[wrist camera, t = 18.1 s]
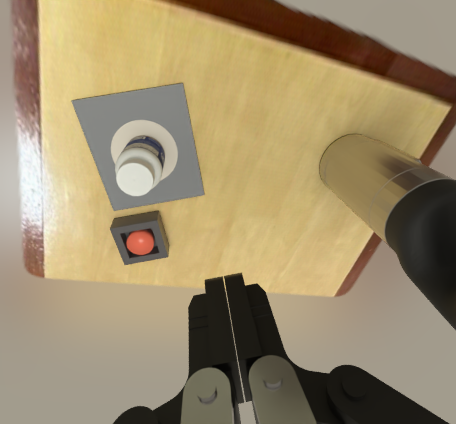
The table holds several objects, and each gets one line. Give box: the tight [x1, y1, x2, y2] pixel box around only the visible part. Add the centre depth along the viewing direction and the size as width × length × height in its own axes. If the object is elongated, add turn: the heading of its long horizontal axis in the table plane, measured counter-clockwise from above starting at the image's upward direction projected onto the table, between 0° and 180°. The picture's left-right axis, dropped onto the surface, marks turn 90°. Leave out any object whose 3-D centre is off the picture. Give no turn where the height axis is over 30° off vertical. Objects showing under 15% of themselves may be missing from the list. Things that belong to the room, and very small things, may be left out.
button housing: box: [110, 211, 169, 265], centre depth 45 cm, size 7×7×3 cm
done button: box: [127, 228, 155, 255], centre depth 45 cm, size 4×4×2 cm
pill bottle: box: [115, 135, 165, 196], centre depth 36 cm, size 5×5×10 cm
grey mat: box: [72, 83, 204, 211], centre depth 40 cm, size 14×16×1 cm
